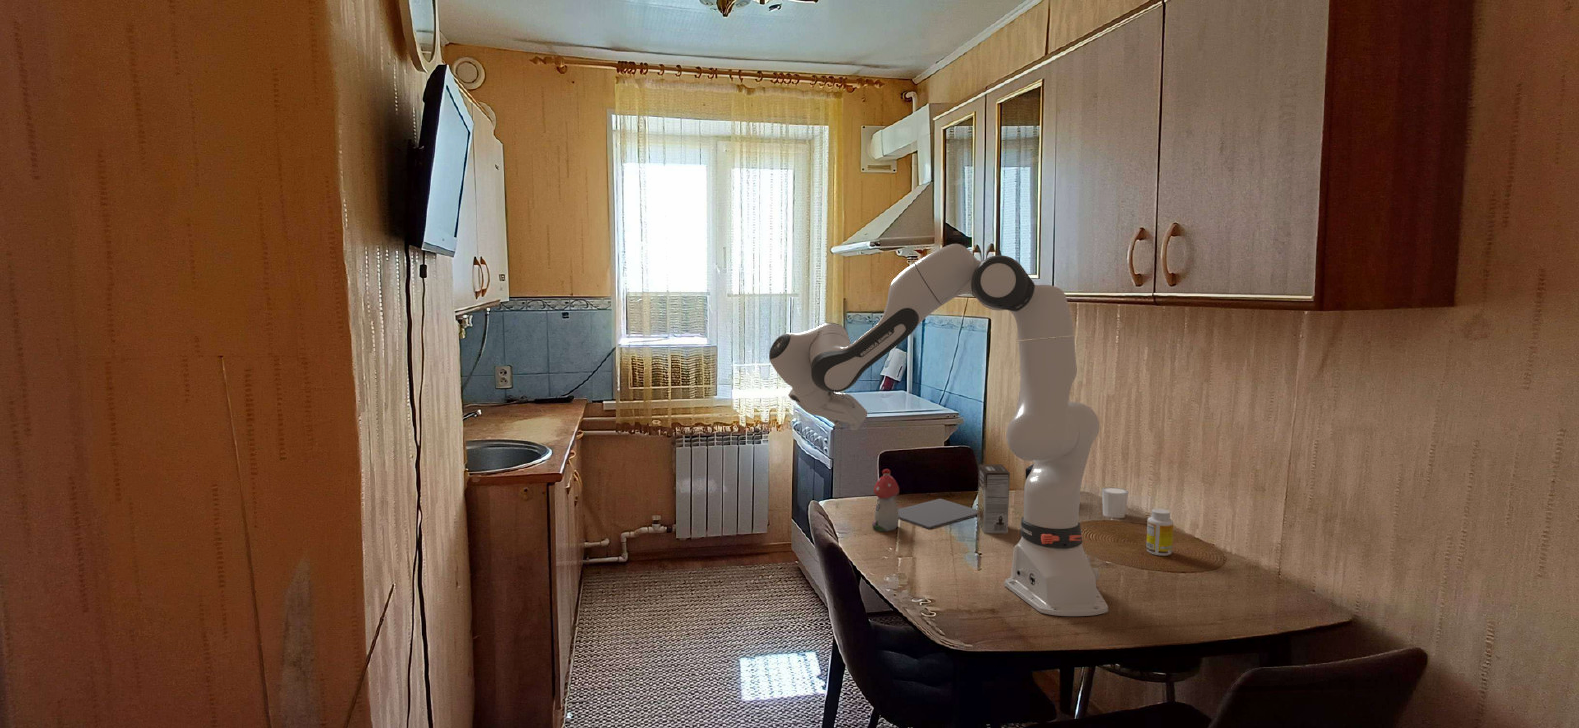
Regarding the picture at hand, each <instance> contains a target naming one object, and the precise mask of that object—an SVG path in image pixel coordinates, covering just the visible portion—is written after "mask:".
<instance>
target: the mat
mask: <svg viewBox="0 0 1579 728" xmlns="http://www.w3.org/2000/svg"><path fill="white" fill-rule="evenodd" d="M897 509H898V514H899V520H901V521H904V522H908V523H909V524H912V525H916V526H919V527H921V528H925V529H927V530H931V529H930V528H932V529H935V528H938V526H939V527H942V526H945V525H944V524H946V525H949V524H952V522H953V523H956V522H959V521H958V520H960V521H962V520H961V519H963V520H966V518H967V519H969V517H970V518H973V517H972V516H974V517H977V516H976V515H977V511H978V508H977V509H976V508H973V507H969V506H966V505H962V504H960V503H957V502H953V501H950V500H946V499H943V498H937V499H934V500H933V499H932V500H929V501H925V502H921V503H917V504H914V505H908V506H906V507H901V508H897ZM941 525H942V526H941Z"/></svg>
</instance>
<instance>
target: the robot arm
mask: <svg viewBox="0 0 1579 728" xmlns="http://www.w3.org/2000/svg"><path fill="white" fill-rule="evenodd" d="M965 294H970V295H972V296H973V297H974V298H976V300H977V301H978V303H980V304H981V305H982V306H984V307H985V308H987V309H989V310H992V311H1009V312H1010V313H1011V314H1012V315H1013V316H1014V319H1015V322H1016V329H1017V340H1018V351H1019V364H1020V365H1019V367H1020V384H1019V390H1018V391H1019V392H1018V396H1017V403H1016V408H1015V411H1014V414H1013V417H1012V418H1011V420H1010V422H1009V423H1008V426H1007V428H1006V442H1007V443H1006V444H1007V445H1008V447H1009V449H1010V451H1011V452H1012V453H1013V454H1014V456H1015V457H1017V458H1019V459H1021V460H1023V461H1027V462H1033V464H1034V465H1033V464H1032V465H1033V468H1032V470H1031V472H1030V474H1029V476H1028V477H1027V479H1026V482H1025V481H1024V482H1025V483H1024V488H1023V490H1024V492H1023V494H1024V495H1023V516H1022V517H1021V520H1020V524H1019V525H1020V536H1021V538H1020V539H1019V541H1018V543H1016V544H1015V546H1014V547H1013V550H1012V551H1013V553H1012V560H1011V561H1012V563H1011V571H1010V577H1008V578H1005V579H1004V583H1003V585H1004V587H1006V588H1008V590H1010V591H1011V592H1012V593H1014V594H1015V595H1017V596H1018V597H1019V598H1020V599H1022V600H1023V601H1024V602H1025V603H1027V604H1029V605H1030V606H1031V608H1034V609H1035V610H1036V611H1038V612H1039V613H1042V614H1046V615H1051V616H1059V617H1060V616H1061V617H1085V616H1086V617H1087V616H1088V617H1089V616H1097V615H1101V614H1106V613H1108V612H1109V606H1108V604H1107V603H1106V601H1105V599H1104V598H1103V596H1102V594H1101V593H1100V591H1099V589H1098V588H1097V583H1096V582H1097V580H1099V579H1100V570H1099V568H1097V567H1096V568H1095V567H1092V566H1091V557H1090V556H1089V555H1087V554H1086V551H1085V549H1084V547H1083V545H1082V544H1083V536H1082V535H1083V533H1082V529H1081V528H1082V527H1081V522H1080V521H1079V518H1080V517H1079V516H1080V499H1081V498H1080V497H1081V490H1082V489H1081V488H1082V482H1083V477H1084V474H1085V471H1086V467H1087V466H1086V465H1087V462H1088V458H1089V454H1090V451H1091V448H1092V445H1093V443H1094V442H1095V440H1096V439H1097V438H1098V435H1099V432H1100V420H1099V418H1098V415H1097V413H1096V412H1095V411H1094V410H1093V409H1092V408H1091V407H1090V406H1088V405H1087V404H1084V403H1081V402H1076V401H1070V395H1071V389H1072V386H1073V382H1074V381H1075V379H1076V377H1077V373H1078V368H1077V357H1076V356H1077V355H1076V345H1075V344H1076V343H1075V336H1074V335H1075V334H1074V326H1073V319H1072V316H1071V315H1072V314H1071V310H1070V307H1069V306H1070V305H1069V303H1068V300H1067V296H1066V294H1065V292H1064V291H1063V290H1062V289H1061V288H1060V287H1057V286H1055V285H1050V284H1035V282H1034V281H1033V280H1032V279H1031V277H1030V275H1028V272H1027V271H1026V270H1025V268H1024V267H1023V265H1021V264H1020V263H1019V262H1018V261H1017V260H1015V259H1014V258H1012V257H1011V256H1008V255H1001V254H999V255H996V254H995V255H993V256H989V257H987V258H985V259H983V260H982V261H981V260H980V259H979V260H978V258H976V257H975V255H974V254H973V252H971V251H970V249H968V248H967V247H966V246H965V245H963V244H959V243H952V244H947V245H946V246H944V247H941V248H939V249H936V250H935V251H933V252H931V253H928V254H926V255H925V256H923V257H921V258H920V259H918V260H917V261H915V262H914V263H912V264H910V265H909V266H907V267H906V268H905V269H903V270H902V271H901V272H899V274H897V276H895V278H894V279H892V281H891V283H890V284H889V288H888V292H887V300H886V305H885V309H884V311H883V315H882V316H881V318H880V320H878V322H877V323H876V324H875V325H874V326H873V327H872V328H870V329H869V330H867V331H866V332H864V334H863V335H861V336H860V337H859V338H857V339H856V340H854V342H852V343H851V340H850V336H849V333H848V331H847V330H846V328H844V326H842V325H841V324H839V323H836V322H824V323H820V324H819V325H817V326H816V327H814V328H812V329H808V330H806V331H802V332H797V333H794V332H785V333H783V334H781V335H780V336H778V338H776V339H775V340H774V341H773V343H772V344H771V347H770V349H769V359H768V360H769V362H770V364H771V365H772V367H773V369H774V370H775V372H776V373H777V374H778V376H780V378H781V380H783V382H784V383H786V384H787V385H789V386H790V387H791V390H790V392H789V393H788V394H787V396H788V397H789V398H790V399H791V400H792V401H794V402H795V403H797V405H799V407H800V408H801V409H802V410H803V411H805V412H806V413H808V414H809V415H813V416H818V417H821V418H825V419H827V420H829V421H830V422H831V423H833V424H834V426H835V427H840V428H842V426H843V425H844V423H847V424H849V425H848V427H849V429H850V430H851V431H858V429H860V426H861V425H862V424H863V422H864V421H865V420H866V419H867V417H868V411H867V409H866V408H865V407H864V406H863V405H862V404H861V403H860V402H859V401H858V399H856V398H855V397H854V396H852V395H851V394H849V393H845V392H844V391H847V390H848V389H850V388H852V387H853V386H854V385H855V384H856V382H858V380H859V379H860V378H861V376H862V375H863V373H864V372H865V371H866V370H868V369H869V368H870V367H872V365H874V364H875V363H876V362H877V361H879V360H881V358H882V357H884V356H885V355H887V354H888V353H890V352H891V351H892V350H893V349H894V348H896V347H897V346H899V344H901V343H902V342H903V341H904V340H906V339H907V338H908V337H909V336H910V335H911V334H913V332H914V331H915V330H916V329H917V327H918V326H919V325H920V324H921V323H922V322H923V321H924V320H925V319H926V318H927V317H928V316H930V315H931V314H932V313H933V312H935V311H936V310H937V309H939V308H940V307H942V306H943V305H945V304H946V303H949V302H950V301H951V300H953V299H955V298H957V297H959V296H961V295H965Z"/></svg>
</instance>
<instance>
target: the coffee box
mask: <svg viewBox="0 0 1579 728" xmlns="http://www.w3.org/2000/svg"><path fill="white" fill-rule="evenodd" d="M1010 477H1011V473H1010V472H1009V471H1008V469H1007V468H1006V467H1005V466H1004V465H1003V464H999V463H998V464H978V478H977V480H978V481H977V483H978V484H977V510H978V511H977V516H976V517H977V520H976V521H977V524H978V526H979V527H980V529H981V528H982V529H981V530H982V532H983V533H984V534H1008V533H1009V532H1008V531H1009V505H1010V504H1009V502H1010V482H1011V481H1010Z"/></svg>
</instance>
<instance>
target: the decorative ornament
mask: <svg viewBox="0 0 1579 728" xmlns="http://www.w3.org/2000/svg"><path fill="white" fill-rule="evenodd" d="M873 493H874V495H875V496H876V497H877V498H878V501H877V504H876V506H875V507H876V508H875V511H874V520H873V521H872V526H871V527H872V528H873V529H874V530H875V531H878V532H884V533H885V532H891V531H895V530H896V528H897V527H898V525H899V520H900V519H899V514H898V509H899V508H898V506H897V502H896V499H895V497H896V496H897V495H899V494H900V487H899V485H898V483H897V481H896V479H895V478H894V477H893V476H892V475H891V470H890V469H888V468H885V469H883V470H882V476H881V477H879V479H878V480H877V481H876V483H875V485H874V487H873Z"/></svg>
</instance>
